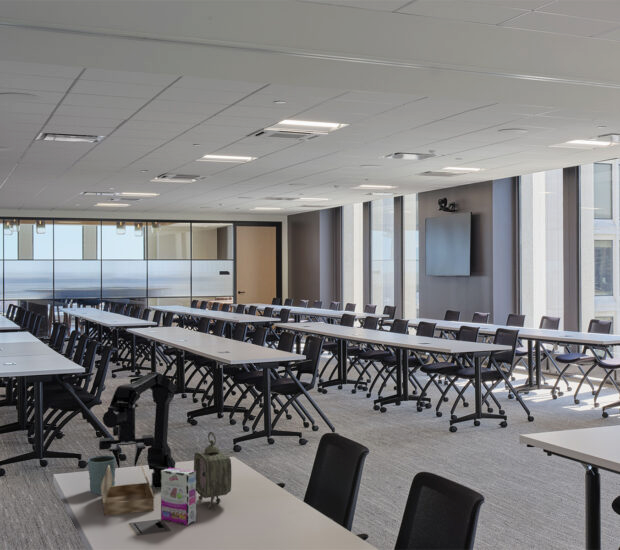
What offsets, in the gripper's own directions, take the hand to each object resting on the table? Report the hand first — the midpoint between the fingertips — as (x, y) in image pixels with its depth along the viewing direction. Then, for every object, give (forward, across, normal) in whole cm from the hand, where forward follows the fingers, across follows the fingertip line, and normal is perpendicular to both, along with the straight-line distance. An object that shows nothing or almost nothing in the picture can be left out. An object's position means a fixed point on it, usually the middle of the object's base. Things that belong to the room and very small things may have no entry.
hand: (126, 466), depth 257 cm
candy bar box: (+13, -14, +23) cm, 30 cm away
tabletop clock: (+13, -28, +9) cm, 33 cm away
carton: (+13, 0, 0) cm, 13 cm away
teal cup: (+13, +8, -19) cm, 24 cm away
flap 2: (+5, -7, 0) cm, 8 cm away
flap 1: (+5, +7, 0) cm, 8 cm away
